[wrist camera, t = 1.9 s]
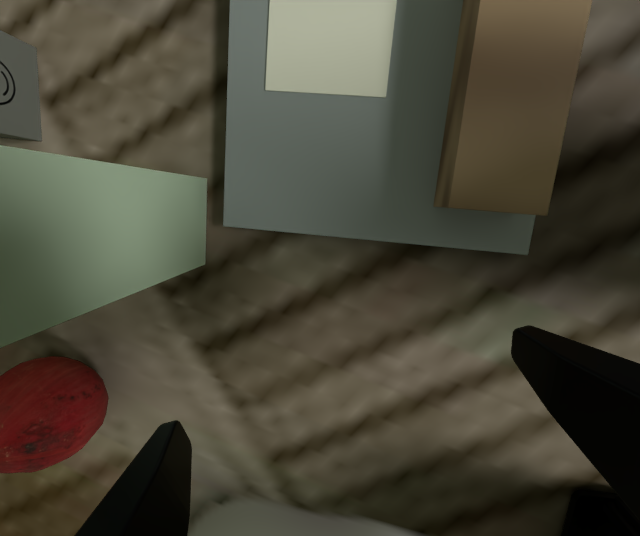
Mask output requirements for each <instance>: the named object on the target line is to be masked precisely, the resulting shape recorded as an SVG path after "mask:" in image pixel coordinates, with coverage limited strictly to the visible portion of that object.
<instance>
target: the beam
mask: <svg viewBox="0 0 640 536" xmlns="http://www.w3.org/2000/svg"><path fill="white" fill-rule="evenodd" d="M591 4H592V0H463V6H462V13H461V19H460V26H459V33H458V40H457V47H456V54H455V61H454V68H453V74H452V81H451V88H450V95H449V102H448V109H447V116H446V123H445V130H444V136H443V143H442V150H441V157H440V164H439V171H438V178H437V185H436V192H435V198H434V205H433V207H444V208H455V209H467V210H479V211H491V212H502V213H514V214H528V215H543V216H547V214H548V209H549V205H550V200H551V195H552V190H553V185H554V181H555V176H556V171H557V166H558V162H559V157H560V152H561V147H562V142H563V138H564V133H565V128H566V123H567V119H568V114H569V109H570V104H571V99H572V95H573V90H574V85H575V80H576V75H577V71H578V66H579V61H580V56H581V52H582V47H583V42H584V37H585V32H586V28H587V23H588V18H589V13H590V8H591Z"/></svg>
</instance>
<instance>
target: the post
mask: <svg viewBox="0 0 640 536" xmlns="http://www.w3.org/2000/svg"><path fill="white" fill-rule="evenodd" d="M206 213H207V178H201V177H194V176H188V175H182V174H176V173H170V172H163V171H157V170H151V169H145V168H139V167H132V166H126V165H120V164H114V163H107V162H101V161H95V160H89V159H83V158H76V157H70V156H64V155H58V154H52V153H45V152H39V151H33V150H27V149H21V148H14V147H8V146H2V145H0V348H1V347H4V346H6V345H9V344H11V343H13V342H16V341H18V340H21V339H23V338H26V337H28V336H31V335H33V334H36V333H38V332H40V331H43V330H45V329H48V328H50V327H53V326H55V325H58V324H60V323H63V322H65V321H67V320H70V319H72V318H75V317H77V316H80V315H82V314H85V313H87V312H90V311H92V310H94V309H97V308H99V307H102V306H104V305H107V304H109V303H112V302H114V301H116V300H119V299H121V298H124V297H126V296H129V295H131V294H134V293H136V292H139V291H141V290H143V289H146V288H148V287H151V286H153V285H156V284H158V283H161V282H163V281H166V280H168V279H170V278H173V277H175V276H178V275H180V274H183V273H185V272H188V271H190V270H193V269H195V268H197V267H200V266H202V265H205V262H206Z"/></svg>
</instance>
